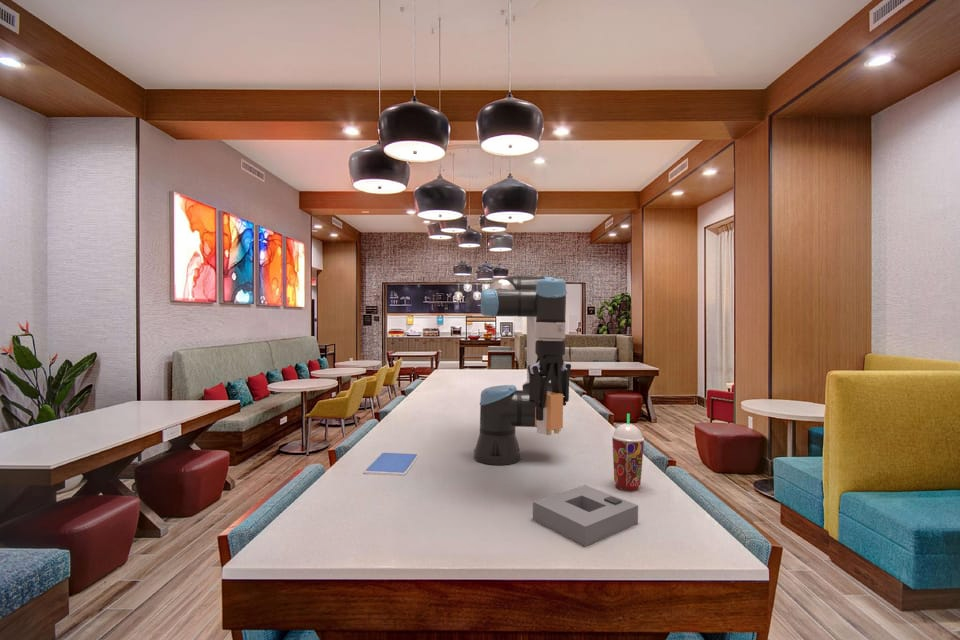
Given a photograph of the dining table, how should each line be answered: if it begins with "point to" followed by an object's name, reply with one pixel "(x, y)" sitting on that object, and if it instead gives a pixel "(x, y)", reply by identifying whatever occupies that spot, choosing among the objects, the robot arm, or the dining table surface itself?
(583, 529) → the socket box
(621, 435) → the smoothie
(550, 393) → the plug
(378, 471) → the tablet computer
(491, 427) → the robot arm
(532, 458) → the dining table surface
